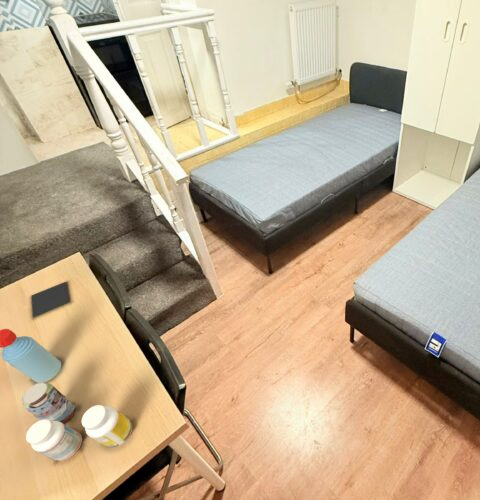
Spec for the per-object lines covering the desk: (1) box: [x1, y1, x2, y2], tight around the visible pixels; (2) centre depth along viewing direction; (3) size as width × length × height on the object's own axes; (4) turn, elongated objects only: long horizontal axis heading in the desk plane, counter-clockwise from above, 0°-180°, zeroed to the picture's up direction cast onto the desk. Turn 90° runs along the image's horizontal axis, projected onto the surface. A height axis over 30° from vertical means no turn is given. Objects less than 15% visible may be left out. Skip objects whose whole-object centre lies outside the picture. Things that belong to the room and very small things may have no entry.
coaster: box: [31, 281, 70, 318], centre depth 109 cm, size 10×10×1 cm
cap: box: [0, 328, 18, 349], centre depth 79 cm, size 4×4×2 cm
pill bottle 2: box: [81, 404, 133, 449], centre depth 75 cm, size 6×6×12 cm
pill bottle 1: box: [25, 419, 83, 462], centre depth 74 cm, size 6×6×11 cm
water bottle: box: [0, 335, 62, 384], centre depth 85 cm, size 7×7×18 cm
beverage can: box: [21, 382, 77, 425], centre depth 78 cm, size 6×7×12 cm
